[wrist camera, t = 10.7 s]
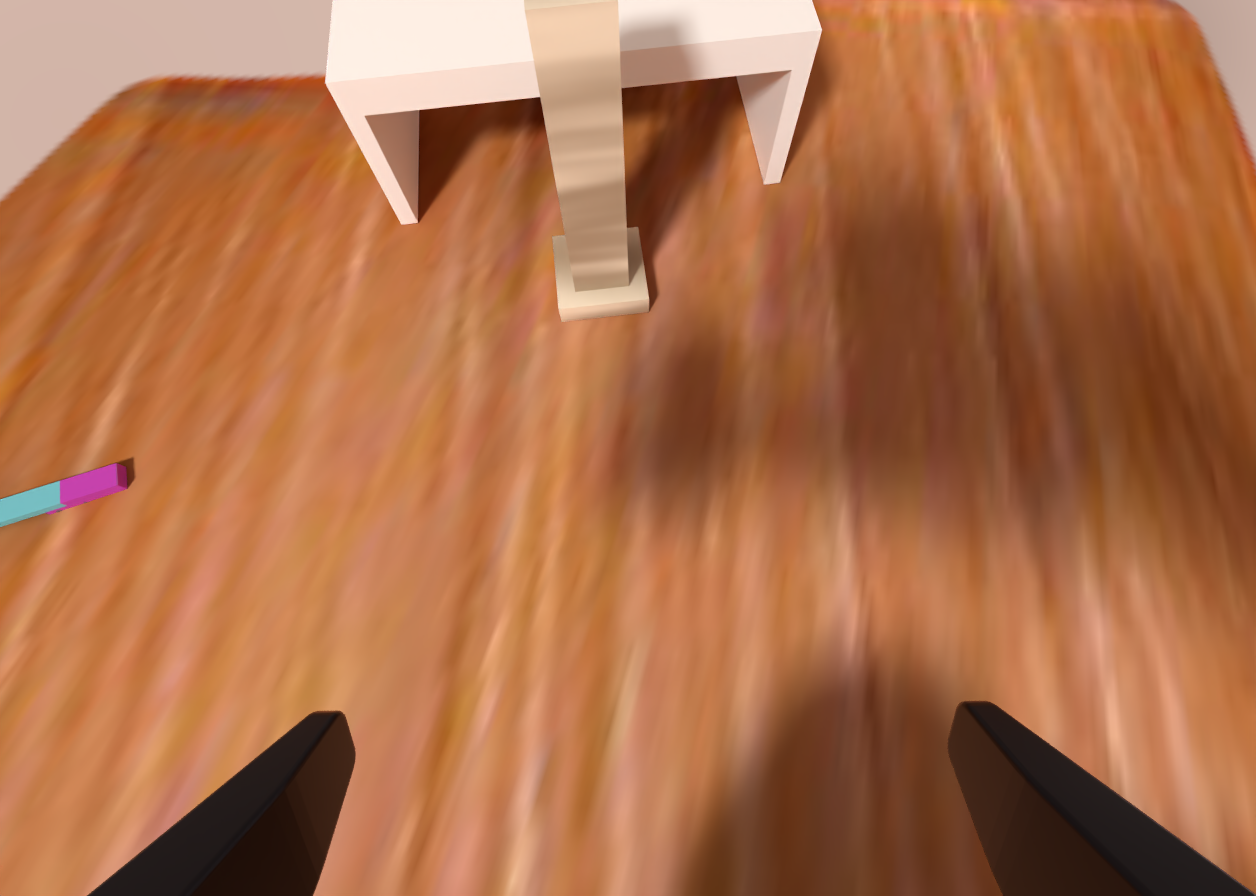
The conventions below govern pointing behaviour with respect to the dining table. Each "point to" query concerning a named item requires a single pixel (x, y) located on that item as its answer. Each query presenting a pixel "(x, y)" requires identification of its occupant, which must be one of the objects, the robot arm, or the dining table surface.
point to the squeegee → (63, 494)
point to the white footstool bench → (504, 70)
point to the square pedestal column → (587, 157)
